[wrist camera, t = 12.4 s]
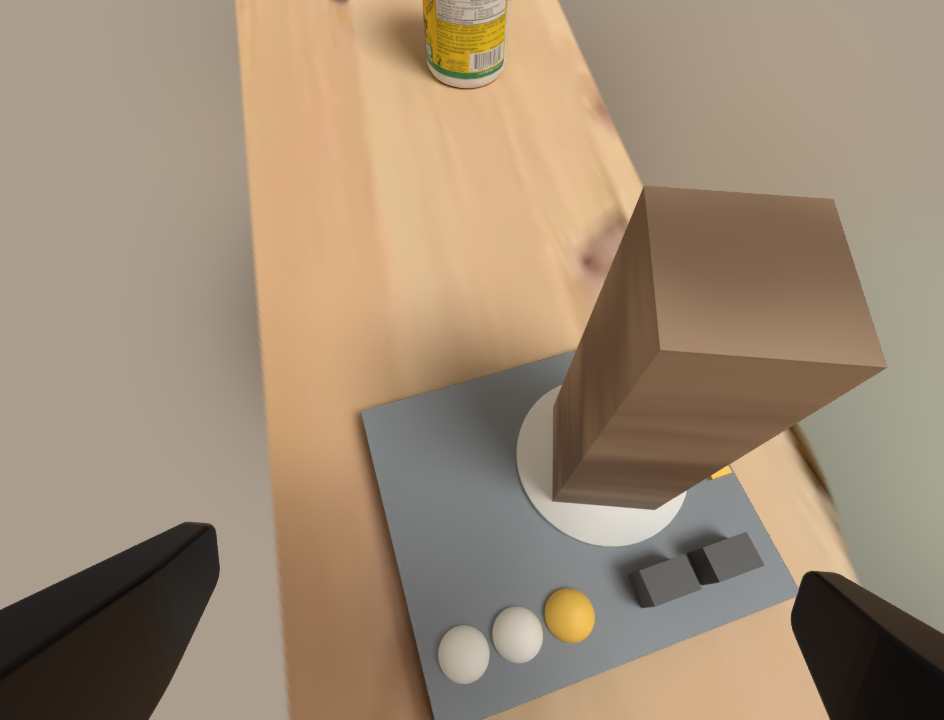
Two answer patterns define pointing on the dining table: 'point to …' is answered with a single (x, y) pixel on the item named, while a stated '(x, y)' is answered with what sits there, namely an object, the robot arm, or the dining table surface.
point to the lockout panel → (546, 549)
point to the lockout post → (708, 343)
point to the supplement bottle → (466, 40)
